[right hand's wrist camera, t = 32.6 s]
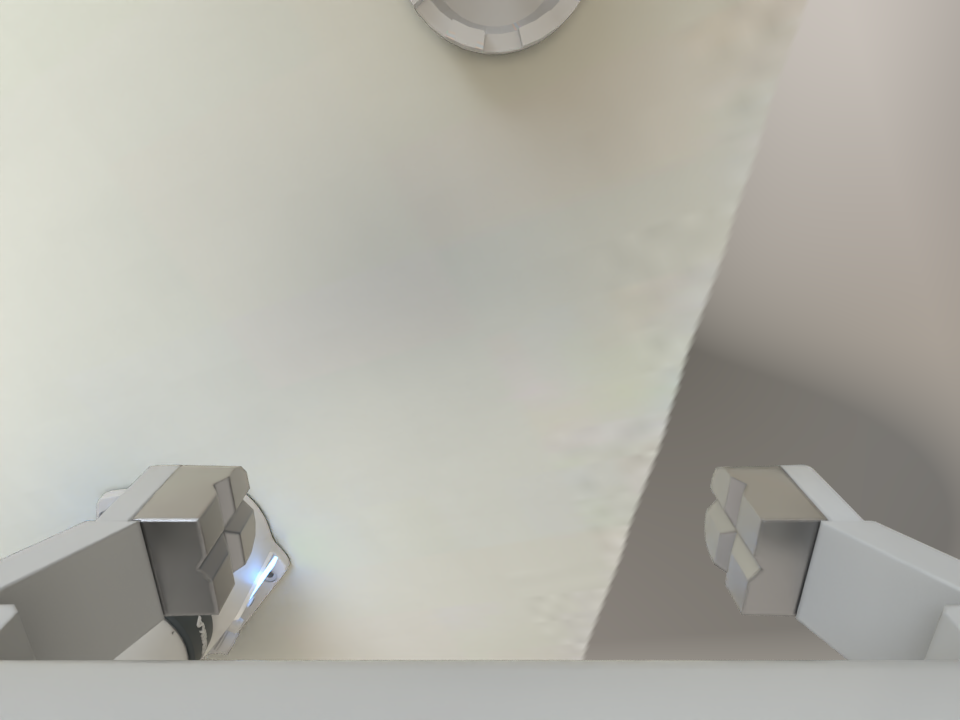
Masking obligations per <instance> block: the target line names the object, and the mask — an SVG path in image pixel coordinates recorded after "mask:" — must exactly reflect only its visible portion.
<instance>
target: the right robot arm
mask: <svg viewBox="0 0 960 720" xmlns="http://www.w3.org/2000/svg"><path fill="white" fill-rule="evenodd" d="M249 489H250V486H249V481H248V477H247V472H246V471H245V470H244V469H243V468H242V467H241V466H201V465H185V466H183V465H155V466H151V467H148V468H147V469H146V470H145V471H144V472H143V473H142V474H141V475H140V476H139V477H138V479H137V480H136V481H135V482H134V483H133V484H132V485H131V486H130V487H129V488H128V489H119V490H113V491H109V492H106V493H104V494H103V495H102V497H101V498H100V499H99V501H98V502H97V507H96V521H85V522H83V523H80V524H78V525H76V526H74V527H72V528H69V529H67V530H65V531H63V532H61V533H58V534H56V535H54V536H52V537H49V538H47V539H45V540H43V541H41V542H38V543H36V544H34V545H32V546H30V547H27V548H25V549H23V550H21V551H19V552H16V553H14V554H12V555H10V556H8V557H5V558H3V559H1V560H0V720H960V560H959V559H957V558H954V557H952V556H950V555H948V554H946V553H943V552H941V551H939V550H937V549H935V548H932V547H930V546H928V545H926V544H924V543H921V542H919V541H917V540H915V539H913V538H910V537H908V536H906V535H904V534H902V533H899V532H897V531H895V530H893V529H891V528H888V527H886V526H884V525H882V524H880V523H877V522H875V521H864V520H863V519H862V518H861V517H860V516H859V515H858V514H857V513H856V512H855V511H854V510H853V509H852V508H851V507H850V506H849V505H848V504H847V503H846V502H845V501H844V500H843V499H842V498H841V497H840V496H839V495H838V494H837V493H836V492H835V491H834V490H833V489H832V488H831V487H830V485H828V483H827V482H826V481H825V480H824V479H823V478H822V477H821V476H820V475H819V474H818V473H817V472H816V471H815V470H814V469H813V468H812V467H809V466H807V465H779V466H747V467H717V468H716V469H715V471H714V473H713V476H712V481H711V486H710V489H711V490H712V492H713V494H714V495H715V497H716V498H717V500H716V501H715V502H714V503H713V504H712V505H711V506H710V507H709V508H708V509H707V510H706V516H705V524H704V530H705V542H706V546H707V549H708V552H709V555H710V557H711V559H712V561H713V563H714V565H716V566H717V567H719V568H720V569H722V570H723V571H725V572H726V573H727V575H726V581H725V585H726V587H727V589H728V591H729V593H730V594H731V596H732V598H733V600H734V602H735V604H736V606H737V607H738V609H739V611H740V613H741V615H765V616H796V620H798V621H799V622H800V623H802V624H803V625H804V626H805V627H806V628H808V629H809V630H810V631H811V632H813V633H814V634H815V635H816V636H818V637H819V638H820V639H821V640H823V641H824V642H825V643H827V644H828V645H829V646H830V647H832V648H833V649H834V650H835V651H837V652H838V653H839V654H840V655H842V656H843V657H844V658H845V659H847V660H202V659H203V658H204V657H205V656H206V655H207V654H215V653H222V654H224V655H225V654H226V655H227V654H228V652H229V651H230V649H231V648H232V646H233V645H234V643H235V641H236V639H237V637H238V635H239V631H240V629H241V628H242V627H243V626H244V624H245V623H246V622H247V621H248V619H249V618H250V617H251V616H252V614H253V613H254V612H255V610H256V609H257V608H258V607H259V605H260V604H261V603H262V602H263V600H264V599H265V598H266V597H267V595H268V594H269V593H270V591H271V590H272V589H273V588H274V586H275V585H276V584H277V583H278V581H279V580H280V579H281V578H282V576H283V575H284V574H285V572H286V571H287V569H288V567H289V565H290V561H289V559H288V557H287V555H286V554H285V553H284V551H283V550H282V549H281V548H280V547H279V546H278V545H277V544H276V543H275V541H274V540H273V538H272V535H271V532H270V529H269V526H268V523H267V521H266V519H265V517H264V515H263V513H262V512H261V510H260V509H259V508H258V506H257V505H256V504H255V503H254V502H253V501H252V500H251V499H250V498H249V497H248V496H247V495H246V494H247V492H248V490H249ZM270 571H271V572H273V573H271V572H270Z"/></svg>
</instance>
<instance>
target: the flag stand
mask: <svg viewBox="0 0 960 720" xmlns="http://www.w3.org/2000/svg"><path fill="white" fill-rule="evenodd" d="M410 1H411V3H412V5H413V7H414V8H415V10H416V12H417V13H418V14H419V15H420V16H421V18H422V19H423V20H424V21H425V22H426V23H427V24H428V26H429V27H430V28H431V29H432V30H434V31H435V32H436V33H438V34H439V35H440V36H441V37H443V38H444V39H445V40H447V41H449V42H451V43H453V44H455V45H457V46H459V47H461V48H463V49H465V50H469V51H473V52H478V53H482V54H506V53H511V52H516V51H521V50H523V49H525V48H528V47H530V46H532V45H535V44H537V43H539V42H540V41H542V40H543V39H545V38H546V37H547V36H549V35H550V34H552V33H553V32H555V31H556V30H557V29H558V28H559V27H560V26H561V25H562V23H563V22H564V21H565V20H566V19H567V18H568V17H569V16H570V15H571V14H572V13H573V11H574V10H575V8H576V6H577V5H578V3H579V2H580V0H410Z"/></svg>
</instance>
